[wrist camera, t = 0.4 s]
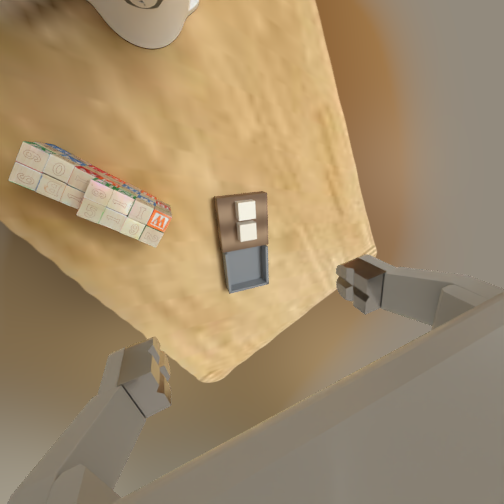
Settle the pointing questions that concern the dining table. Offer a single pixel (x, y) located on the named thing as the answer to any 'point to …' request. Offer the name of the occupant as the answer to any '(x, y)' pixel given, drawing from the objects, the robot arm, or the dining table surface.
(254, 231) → the tile
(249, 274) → the tray
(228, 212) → the board
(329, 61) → the dining table surface
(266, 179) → the dining table surface
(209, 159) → the dining table surface
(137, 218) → the stack of blocks
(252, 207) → the tile
